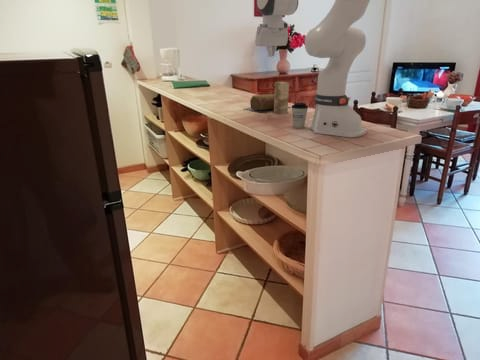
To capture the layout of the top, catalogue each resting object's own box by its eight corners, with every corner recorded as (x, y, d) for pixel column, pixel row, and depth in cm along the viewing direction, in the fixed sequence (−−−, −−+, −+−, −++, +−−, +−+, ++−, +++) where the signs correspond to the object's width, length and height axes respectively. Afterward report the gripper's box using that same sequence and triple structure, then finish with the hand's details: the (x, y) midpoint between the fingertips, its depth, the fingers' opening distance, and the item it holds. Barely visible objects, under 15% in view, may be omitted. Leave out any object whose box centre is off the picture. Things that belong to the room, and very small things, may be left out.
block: (249, 94, 180) (278, 92, 191) (248, 109, 183) (277, 106, 193) (261, 97, 172) (291, 94, 182) (261, 112, 174) (290, 109, 185)
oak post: (287, 112, 176) (289, 82, 171) (280, 113, 173) (281, 83, 168) (280, 111, 180) (281, 81, 174) (273, 112, 177) (274, 82, 171)
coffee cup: (295, 124, 151) (296, 101, 148) (309, 126, 147) (311, 103, 143) (287, 127, 146) (288, 103, 143) (301, 130, 142) (303, 105, 138)
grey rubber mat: (289, 107, 189) (289, 107, 189) (266, 113, 175) (266, 112, 175) (267, 104, 199) (267, 103, 199) (243, 109, 185) (243, 108, 185)
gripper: (263, 23, 148) (262, 57, 153) (290, 24, 162) (289, 55, 167) (252, 23, 152) (251, 57, 157) (279, 24, 166) (278, 55, 171)
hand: (271, 56), depth 162 cm, fingers closed
